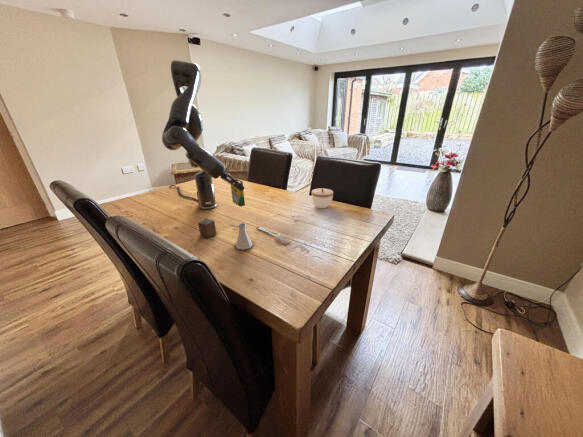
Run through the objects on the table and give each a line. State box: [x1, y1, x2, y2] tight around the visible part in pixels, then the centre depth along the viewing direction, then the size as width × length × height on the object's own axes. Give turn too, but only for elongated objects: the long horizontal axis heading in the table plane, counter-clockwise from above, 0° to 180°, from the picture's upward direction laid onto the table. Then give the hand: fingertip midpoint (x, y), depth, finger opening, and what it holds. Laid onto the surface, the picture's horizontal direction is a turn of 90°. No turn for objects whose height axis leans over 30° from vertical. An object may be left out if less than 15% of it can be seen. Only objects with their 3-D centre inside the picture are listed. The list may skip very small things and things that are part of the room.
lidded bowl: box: [311, 187, 334, 209], centre depth 138 cm, size 13×13×11 cm
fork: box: [257, 226, 290, 245], centre depth 108 cm, size 3×21×3 cm, turn 43°
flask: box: [235, 222, 254, 251], centre depth 98 cm, size 7×7×10 cm
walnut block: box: [197, 218, 217, 239], centre depth 108 cm, size 5×5×7 cm
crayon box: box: [230, 177, 246, 208], centre depth 109 cm, size 7×3×12 cm, turn 39°
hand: (239, 187), depth 109 cm, fingers closed on crayon box, 7 cm apart
